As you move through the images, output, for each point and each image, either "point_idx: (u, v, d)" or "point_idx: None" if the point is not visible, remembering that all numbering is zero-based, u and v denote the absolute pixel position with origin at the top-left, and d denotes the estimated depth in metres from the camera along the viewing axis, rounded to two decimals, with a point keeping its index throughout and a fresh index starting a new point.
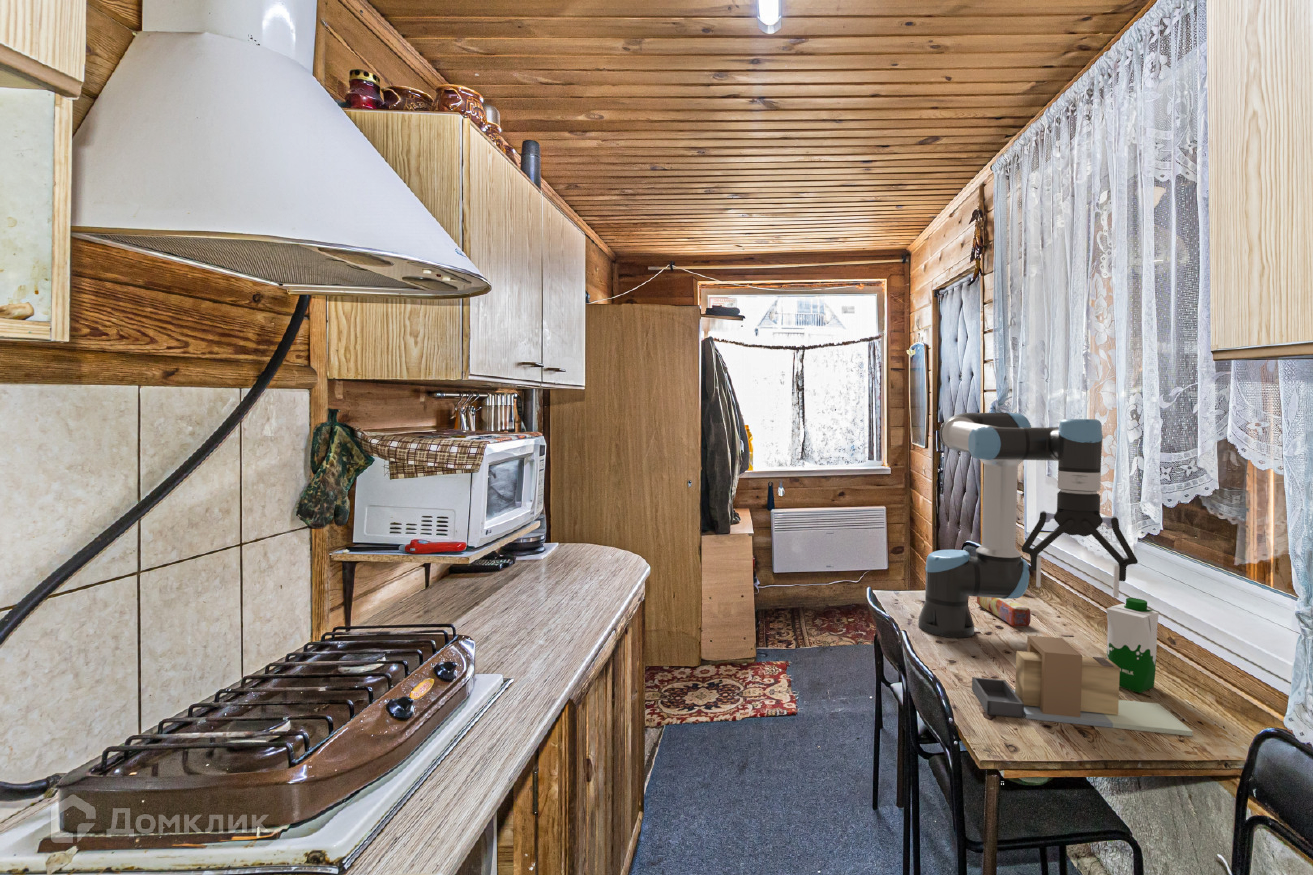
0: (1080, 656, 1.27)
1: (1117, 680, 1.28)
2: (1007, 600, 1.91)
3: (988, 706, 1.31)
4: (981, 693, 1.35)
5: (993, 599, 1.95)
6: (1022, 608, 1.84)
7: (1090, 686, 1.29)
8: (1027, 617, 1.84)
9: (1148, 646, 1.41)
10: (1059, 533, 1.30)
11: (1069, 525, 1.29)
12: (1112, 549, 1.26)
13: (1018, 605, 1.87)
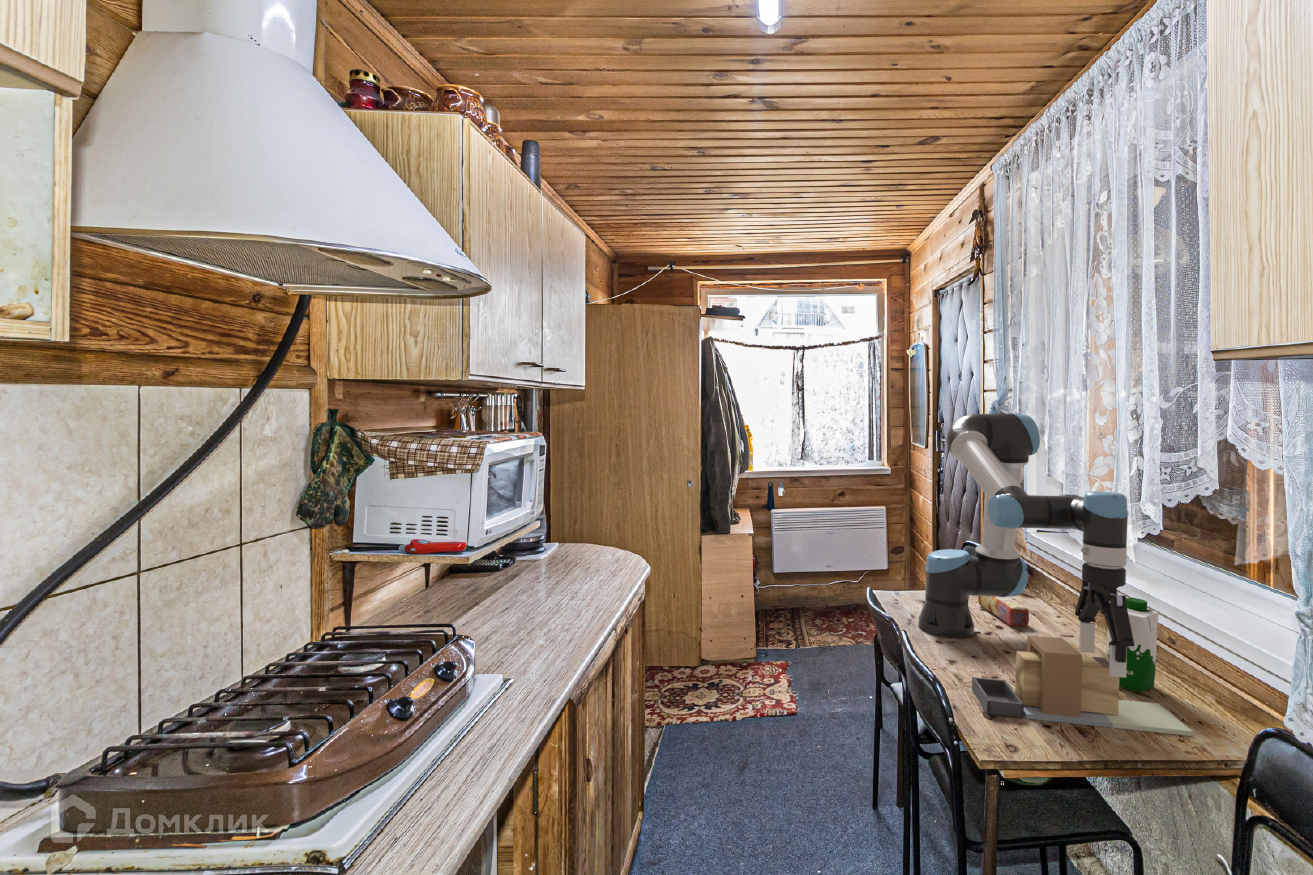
0: (1080, 656, 1.27)
1: (1117, 680, 1.28)
2: (1006, 600, 1.91)
3: (988, 706, 1.31)
4: (981, 693, 1.35)
5: (993, 598, 1.95)
6: (1020, 608, 1.84)
7: (1090, 686, 1.29)
8: (1025, 617, 1.84)
9: (1148, 646, 1.41)
10: (1086, 602, 1.34)
11: (1089, 595, 1.32)
12: (1110, 626, 1.25)
13: (1016, 605, 1.87)
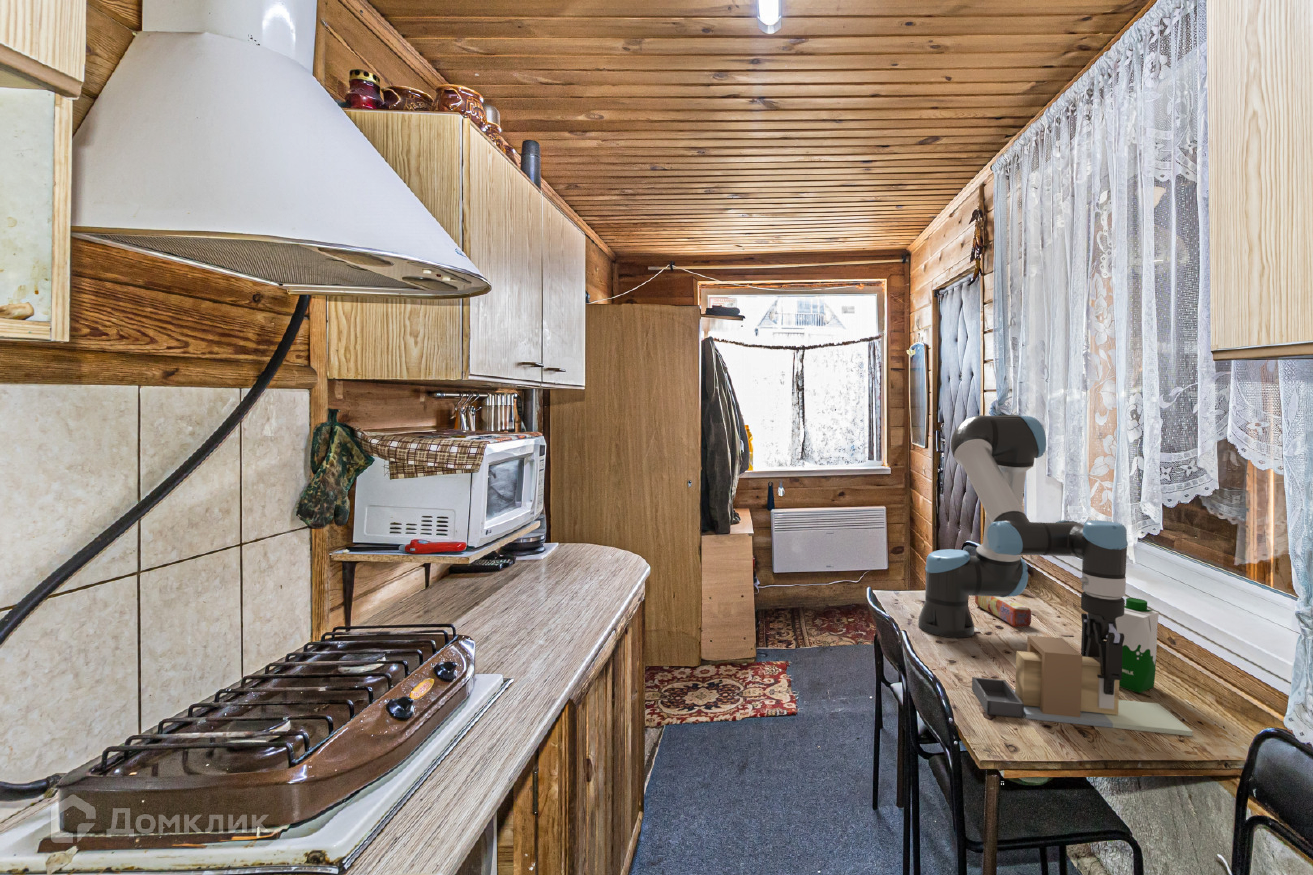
0: (1080, 656, 1.27)
1: (1117, 680, 1.28)
2: (1007, 600, 1.91)
3: (988, 706, 1.31)
4: (981, 693, 1.35)
5: (992, 599, 1.95)
6: (1023, 608, 1.84)
7: (1090, 686, 1.29)
8: (1028, 617, 1.84)
9: (1148, 646, 1.41)
10: (1088, 634, 1.33)
11: (1088, 624, 1.32)
12: (1101, 659, 1.28)
13: (1018, 605, 1.87)
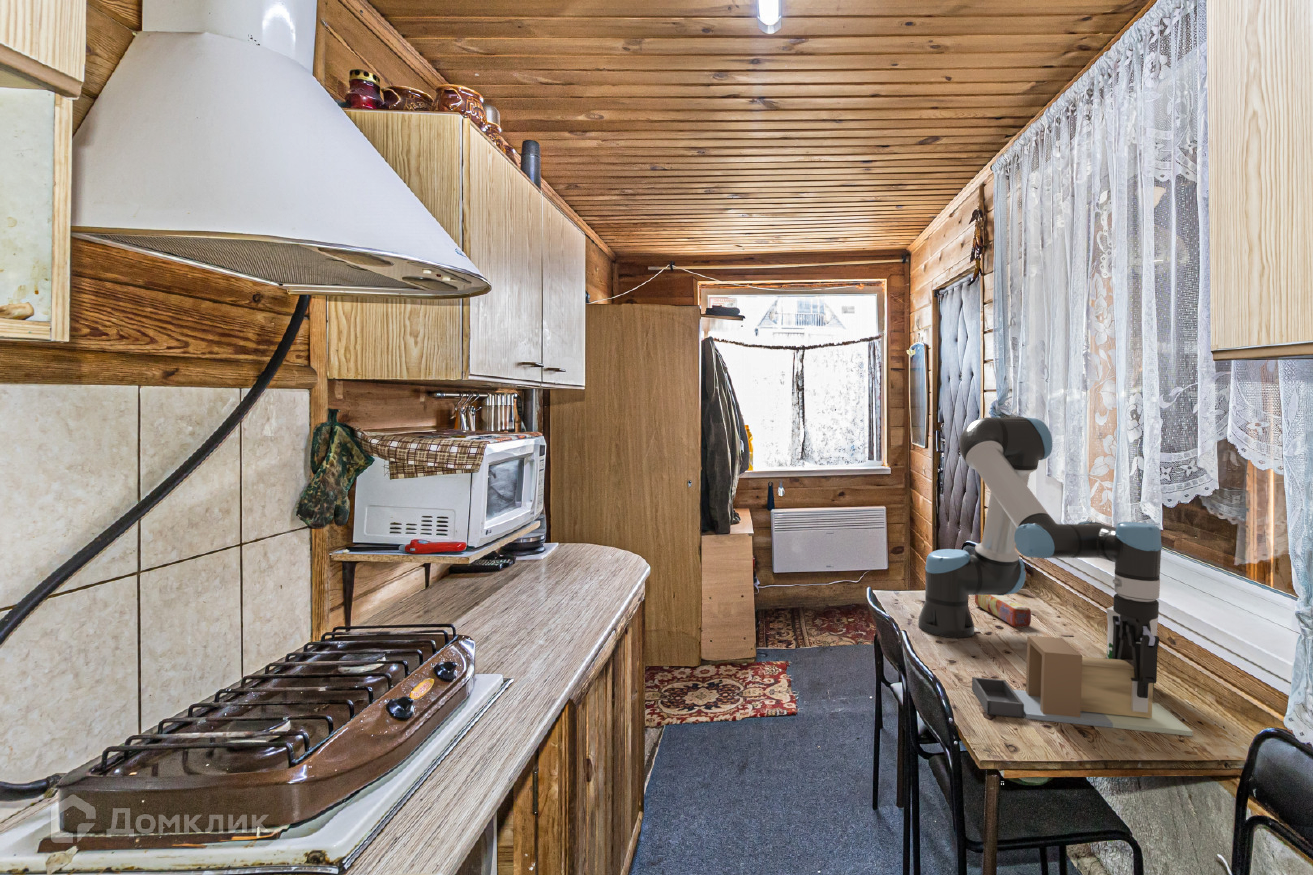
0: (1080, 656, 1.27)
1: (1151, 683, 1.27)
2: (1007, 600, 1.91)
3: (988, 706, 1.31)
4: (981, 693, 1.35)
5: (992, 599, 1.95)
6: (1023, 608, 1.84)
7: (1123, 689, 1.28)
8: (1027, 617, 1.84)
9: None
10: (1120, 637, 1.31)
11: (1121, 627, 1.31)
12: (1135, 662, 1.26)
13: (1018, 605, 1.87)
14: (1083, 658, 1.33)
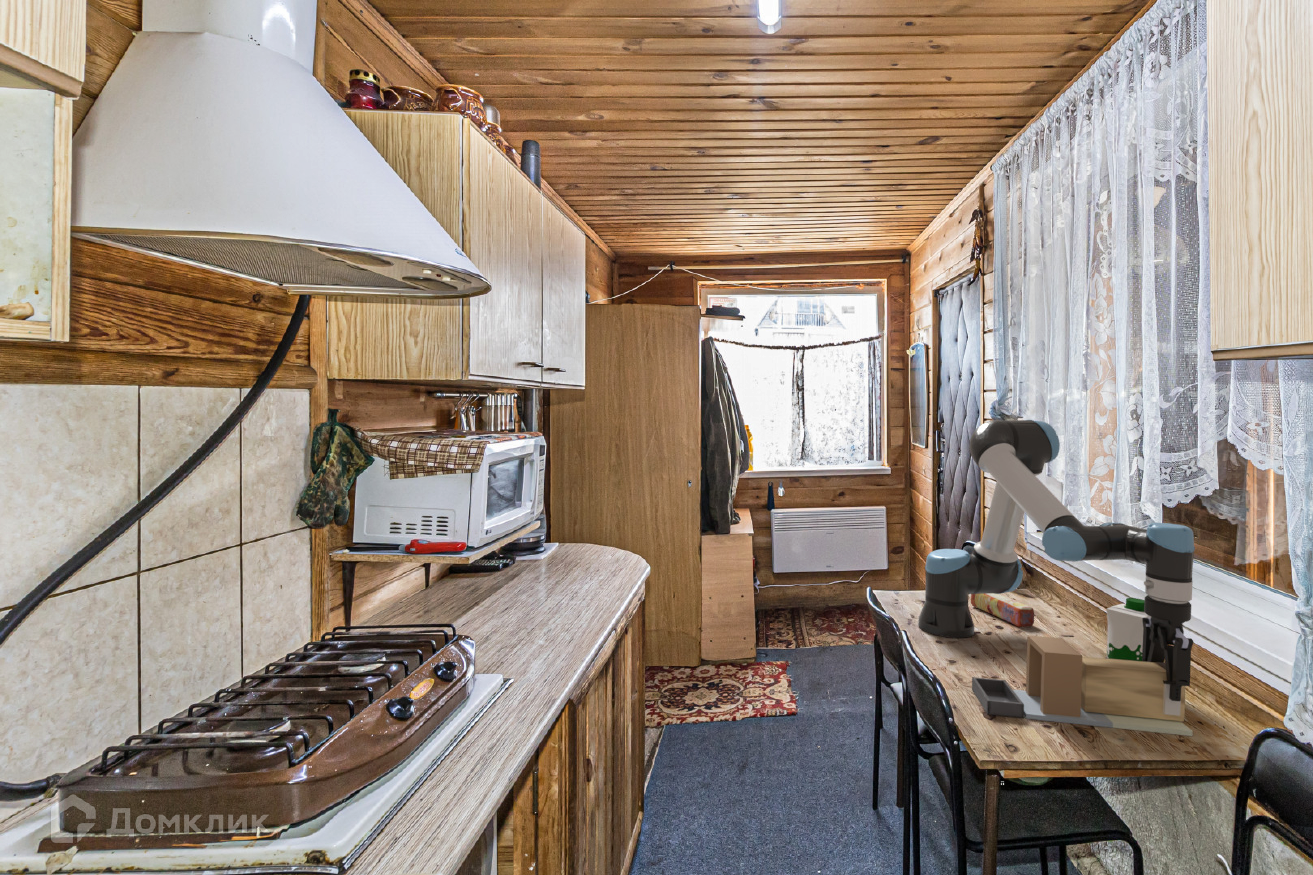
0: (1080, 656, 1.27)
1: (1183, 686, 1.25)
2: (1008, 600, 1.91)
3: (988, 706, 1.31)
4: (981, 693, 1.35)
5: (992, 599, 1.95)
6: (1027, 608, 1.85)
7: (1154, 692, 1.26)
8: (1031, 617, 1.84)
9: None
10: (1151, 639, 1.30)
11: (1152, 629, 1.29)
12: (1168, 665, 1.25)
13: (1021, 605, 1.87)
14: (1113, 661, 1.31)
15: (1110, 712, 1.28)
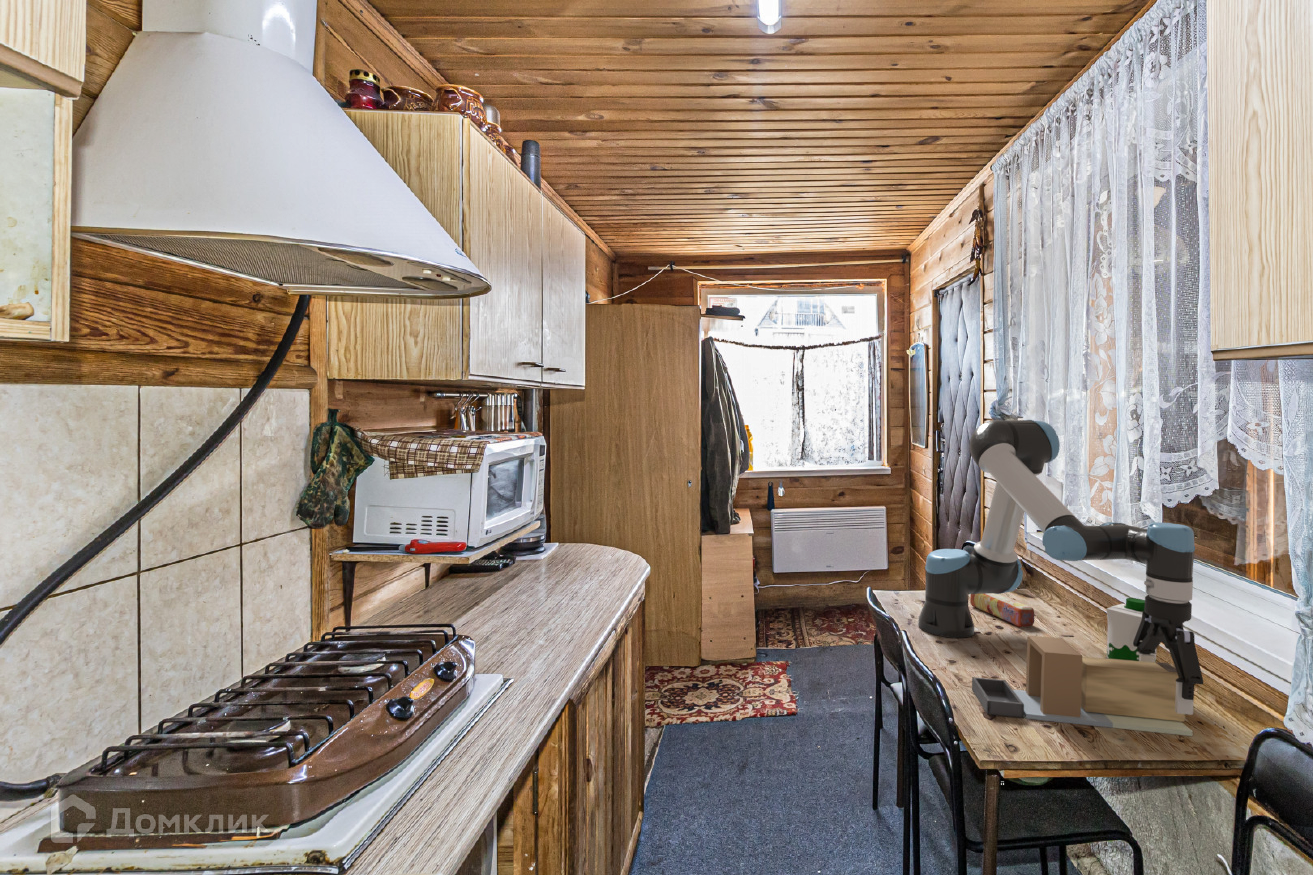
0: (1080, 656, 1.27)
1: None
2: (1008, 600, 1.91)
3: (988, 706, 1.31)
4: (981, 693, 1.35)
5: (992, 599, 1.95)
6: (1027, 608, 1.85)
7: (1155, 692, 1.26)
8: (1032, 617, 1.84)
9: None
10: (1148, 634, 1.31)
11: (1152, 628, 1.30)
12: (1176, 662, 1.22)
13: (1022, 605, 1.87)
14: (1114, 661, 1.31)
15: (1110, 712, 1.28)
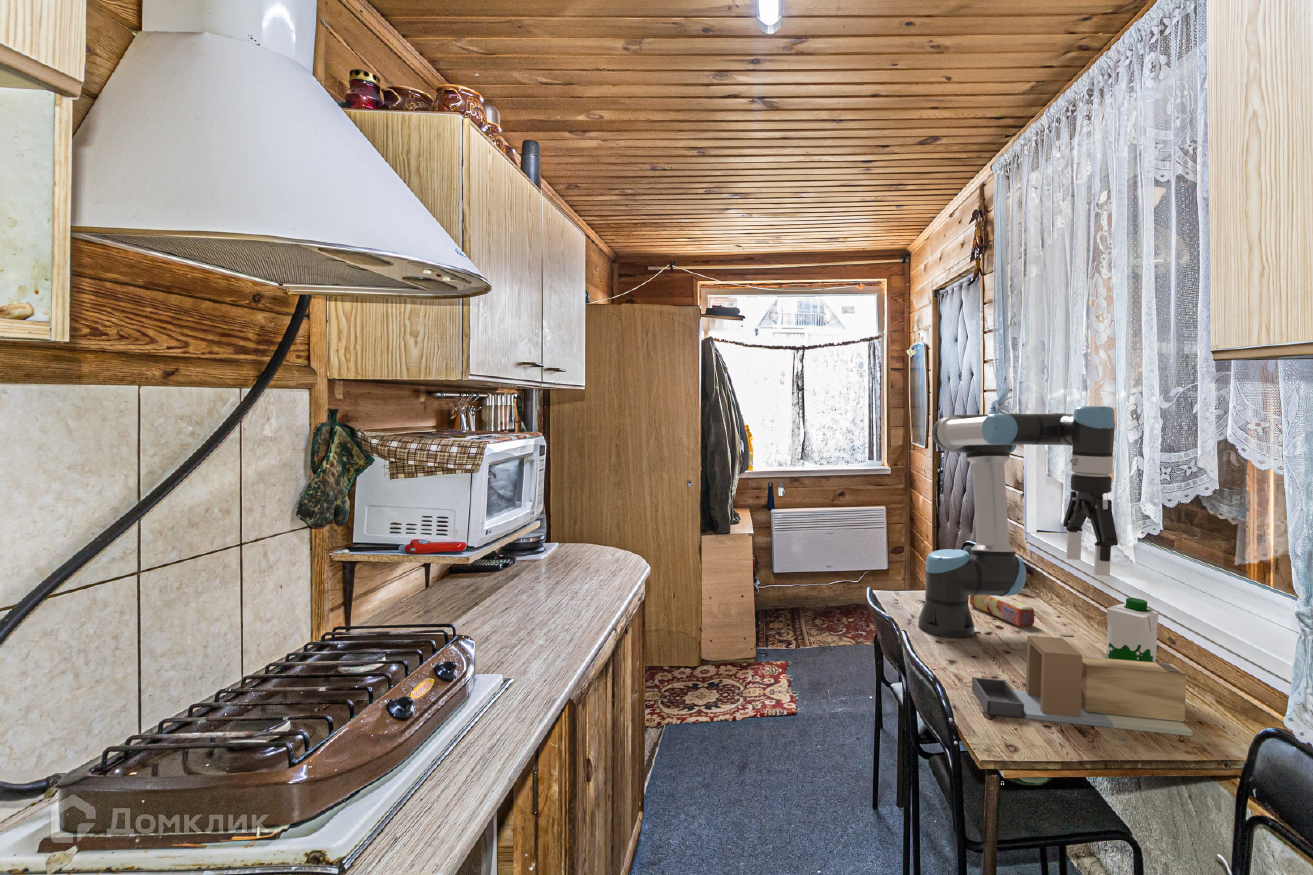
0: (1080, 656, 1.27)
1: (1184, 686, 1.25)
2: (1008, 600, 1.91)
3: (988, 706, 1.31)
4: (981, 693, 1.35)
5: (992, 599, 1.94)
6: (1027, 608, 1.85)
7: (1155, 692, 1.26)
8: (1032, 616, 1.84)
9: (1148, 646, 1.41)
10: (1074, 511, 1.42)
11: (1077, 504, 1.40)
12: (1095, 529, 1.33)
13: (1021, 605, 1.87)
14: (1114, 661, 1.31)
15: (1110, 712, 1.28)
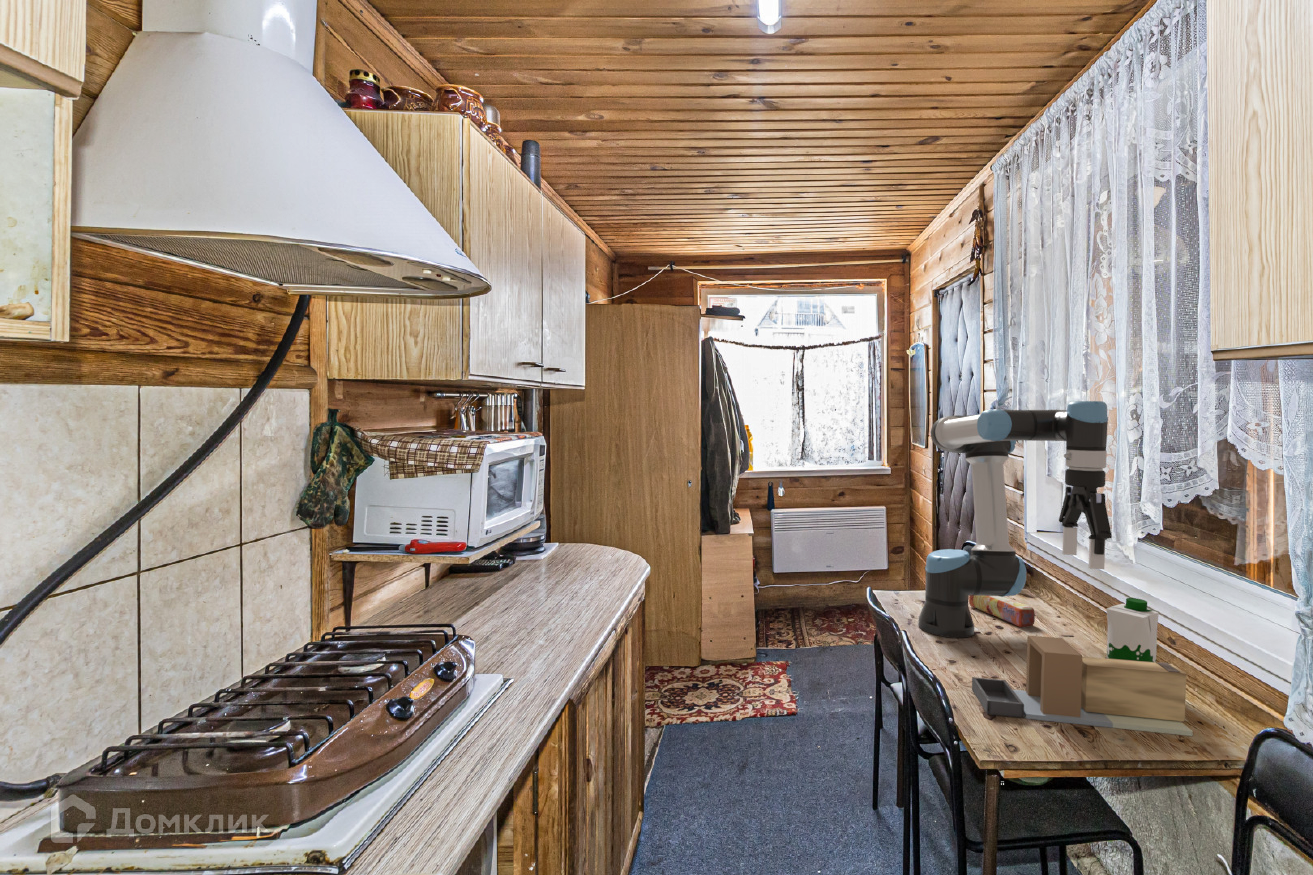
0: (1080, 656, 1.27)
1: (1184, 686, 1.25)
2: (1008, 600, 1.91)
3: (988, 706, 1.31)
4: (981, 693, 1.35)
5: (991, 600, 1.94)
6: (1028, 608, 1.85)
7: (1155, 692, 1.26)
8: (1032, 616, 1.84)
9: (1148, 646, 1.41)
10: (1069, 505, 1.43)
11: (1071, 498, 1.41)
12: (1089, 523, 1.34)
13: (1022, 605, 1.87)
14: (1114, 661, 1.31)
15: (1110, 712, 1.28)
